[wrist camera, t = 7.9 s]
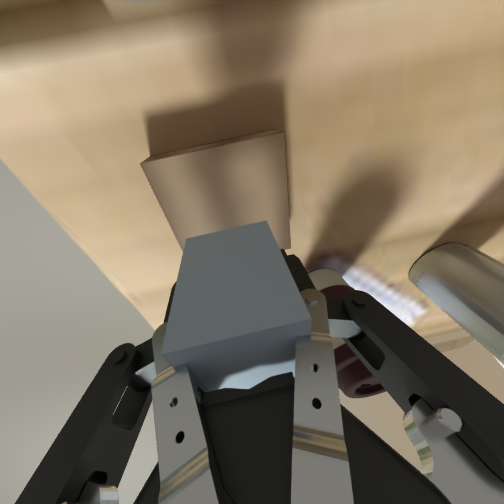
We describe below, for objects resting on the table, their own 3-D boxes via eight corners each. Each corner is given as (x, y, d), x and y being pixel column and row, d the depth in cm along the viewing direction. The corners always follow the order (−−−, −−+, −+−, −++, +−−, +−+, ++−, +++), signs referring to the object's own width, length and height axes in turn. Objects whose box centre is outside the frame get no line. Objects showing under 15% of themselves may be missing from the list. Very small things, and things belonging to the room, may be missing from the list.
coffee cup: (334, 249, 28) (420, 351, 16) (354, 283, 34) (430, 379, 22) (277, 283, 31) (316, 394, 19) (305, 310, 36) (348, 409, 24)
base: (275, 129, 18) (284, 132, 16) (283, 235, 26) (290, 248, 23) (149, 156, 18) (139, 163, 16) (194, 255, 25) (192, 270, 23)
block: (266, 220, 12) (311, 318, 6) (274, 277, 15) (309, 377, 9) (186, 238, 12) (160, 354, 6) (210, 292, 15) (207, 402, 9)
